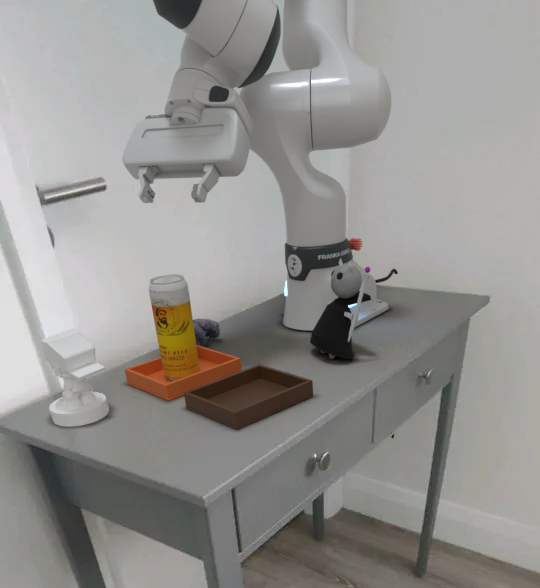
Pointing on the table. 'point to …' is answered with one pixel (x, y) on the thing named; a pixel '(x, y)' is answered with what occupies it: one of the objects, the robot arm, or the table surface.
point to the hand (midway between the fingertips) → (170, 200)
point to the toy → (341, 312)
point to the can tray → (159, 385)
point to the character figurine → (74, 379)
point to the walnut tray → (248, 395)
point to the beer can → (174, 325)
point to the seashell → (205, 330)
